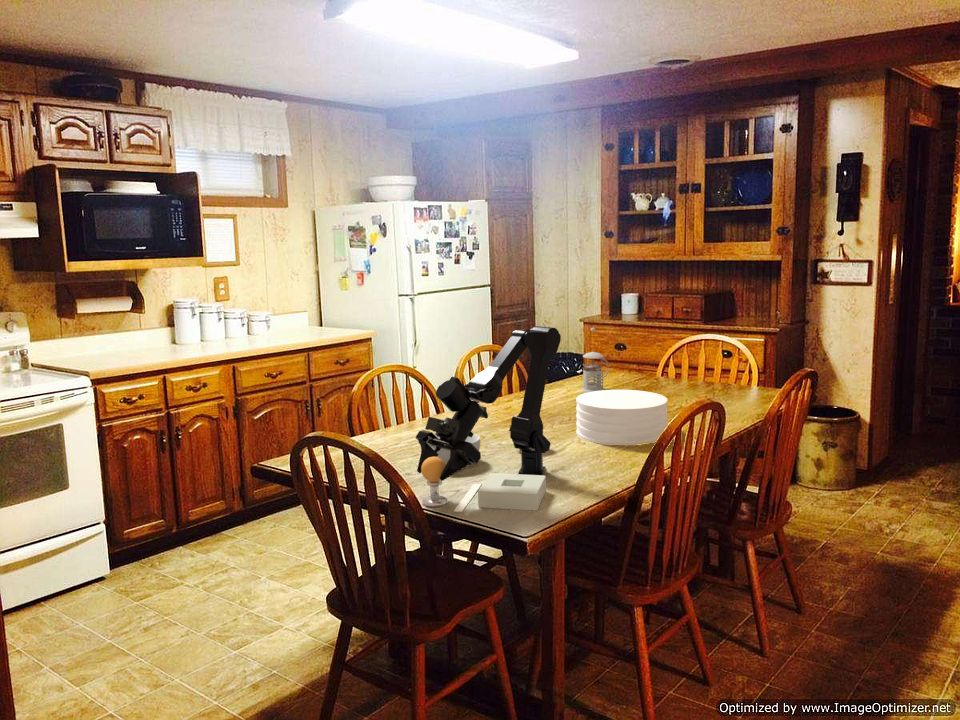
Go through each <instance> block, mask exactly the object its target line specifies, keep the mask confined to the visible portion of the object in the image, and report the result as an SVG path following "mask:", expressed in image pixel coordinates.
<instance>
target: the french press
mask: <svg viewBox="0 0 960 720" xmlns="http://www.w3.org/2000/svg"><path fill="white" fill-rule="evenodd" d="M590 331H591V332H596V328H595V327H591V328H590ZM582 358H584V359H587V360H588V359H590V360H596V359H597V360H598V359H599V360H600V362H601V363H604V362H605V364H606V365H607V366H610V363H609V361H608V360H607V359H605V358H604V355H603V354H601V353H599V352H595V351H591V352H587V353H584V354H583V355H582ZM583 367H584V369H583V374H582V377H583V378H582V380H583V382H582V384H583V387H582V388H581V389H580V392H584V393H588V392H593V391H601V390H606V389H605V388H604V378H605V377H607V375H608V374H609V372H610V369H606V370H605V373H604V370H603V369H601V368H602V367H603V365H602V364H594V363H592V364H591V363H590V364H585V365H583Z"/></svg>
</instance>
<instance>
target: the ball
mask: <svg viewBox="0 0 960 720" xmlns="http://www.w3.org/2000/svg"><path fill="white" fill-rule="evenodd" d="M445 466H446V465H445V463H444V461H443V460H442V459H440V458H439V457H429V458H427V459H426V460H425V461H424V462H423V464H422V467H421V474H422V476H423V478H424V479H425V480H426V481H431V482H437V481H439V480H440V476H441V473H442V471H443V470H444V468H445Z"/></svg>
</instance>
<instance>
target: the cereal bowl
mask: <svg viewBox="0 0 960 720" xmlns="http://www.w3.org/2000/svg"><path fill="white" fill-rule="evenodd" d="M433 434H434V435H435V436H436V437H437V438H438V439H440V437H438V436H437V435H436V434H435V433H433ZM465 441H466V442H470V443H471V444H472V445H473V446H474V447H475V448H476V449H477V450H478V451H479V452H480V449H481V437H480V436H479V435H478V434H476V433H473V436H472V437H467V439H466V440H465ZM444 445H445V444H444ZM437 453H438V454H439V455H438V456H437V457H439V458H440V459H442V460H443V461H444V463H445V465H446V464H447V462H448V461H449V459H450V450H446V449H443V448H441V449H440V451H438V452H437Z"/></svg>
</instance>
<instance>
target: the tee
mask: <svg viewBox="0 0 960 720" xmlns="http://www.w3.org/2000/svg"><path fill="white" fill-rule="evenodd" d="M442 483H443V481H442V480H439V481H437V482H431V481H428V480H426V486H429V487H430V496H426V497H424V498H423V499H422V500H421V501H422V505H423V506H424V507H426V508H441V507H444V506H446V505H448V498H447V497H445V496H443V495H440V492H439V490H440V489H439V486H441V485H443V484H442Z"/></svg>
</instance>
